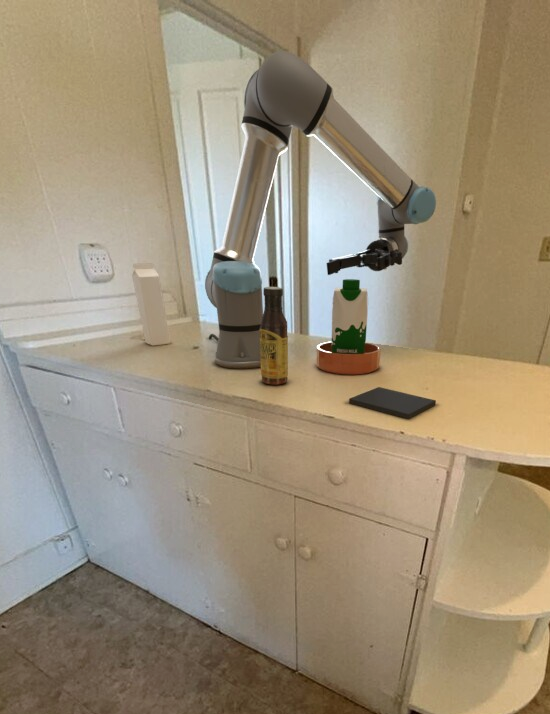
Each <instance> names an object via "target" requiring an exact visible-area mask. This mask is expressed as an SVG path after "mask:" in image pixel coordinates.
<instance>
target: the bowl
mask: <svg viewBox="0 0 550 714" xmlns="http://www.w3.org/2000/svg"><path fill="white" fill-rule="evenodd" d="M380 361H381V346H379V345H378V344H375V343H371V342H366V343H365V350H364V354H340V353H332V341H327V342H323V343H320V344H318V345H316V366H317V367H318V369H320V370H321V371H323V372H326V373H330V374H335V375H346V376H350V375H351V376H352V375H353V376H355V375H365V374H370V373H373V372H375V371H377V369H379V368H380V363H381V362H380Z"/></svg>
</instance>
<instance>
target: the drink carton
mask: <svg viewBox="0 0 550 714" xmlns="http://www.w3.org/2000/svg"><path fill="white" fill-rule="evenodd" d="M360 283H361V280H360V279H354V278H350V279H349V278H348V279H347V278H345V279H342V287H335V288H334V292H333V296H332V311H331V313H332V314H331V342H332V353H340V354H364V350H365V343H367V342H366V341H367V328H368V327H367V326H368V299H369V296H368V294H369V293H368V288H367V287H360V286H361V284H360Z"/></svg>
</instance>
